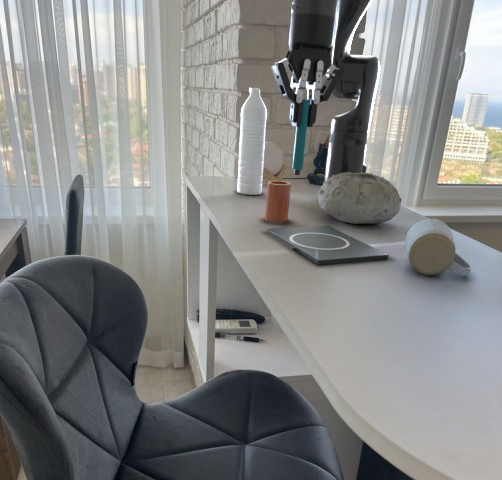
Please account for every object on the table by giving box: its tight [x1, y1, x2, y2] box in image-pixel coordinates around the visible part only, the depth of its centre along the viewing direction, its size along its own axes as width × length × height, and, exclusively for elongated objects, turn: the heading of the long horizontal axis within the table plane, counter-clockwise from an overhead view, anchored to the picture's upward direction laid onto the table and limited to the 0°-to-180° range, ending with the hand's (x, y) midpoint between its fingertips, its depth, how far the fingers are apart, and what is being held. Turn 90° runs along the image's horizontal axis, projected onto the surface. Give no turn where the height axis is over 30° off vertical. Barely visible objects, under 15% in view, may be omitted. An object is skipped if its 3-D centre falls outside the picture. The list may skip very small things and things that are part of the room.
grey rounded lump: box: [317, 172, 403, 225], centre depth 109 cm, size 18×18×10 cm
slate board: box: [266, 225, 389, 266], centre depth 93 cm, size 14×20×1 cm
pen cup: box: [264, 180, 292, 223], centre depth 105 cm, size 5×5×8 cm
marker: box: [291, 98, 310, 176], centre depth 93 cm, size 2×2×13 cm
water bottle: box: [236, 87, 268, 196], centre depth 129 cm, size 9×6×25 cm
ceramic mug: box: [404, 218, 472, 278], centre depth 81 cm, size 11×8×8 cm
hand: (302, 126), depth 92 cm, fingers closed on marker, 2 cm apart
